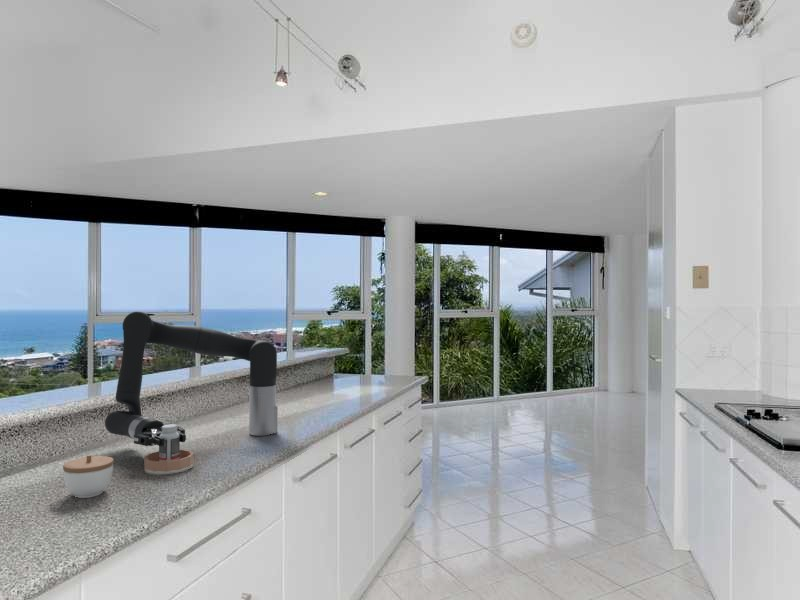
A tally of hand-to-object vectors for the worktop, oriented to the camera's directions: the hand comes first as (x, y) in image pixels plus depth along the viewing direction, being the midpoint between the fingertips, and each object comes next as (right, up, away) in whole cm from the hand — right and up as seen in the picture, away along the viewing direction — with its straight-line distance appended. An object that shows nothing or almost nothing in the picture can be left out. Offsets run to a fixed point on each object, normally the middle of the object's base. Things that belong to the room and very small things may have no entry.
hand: (173, 440), depth 151 cm
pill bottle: (-2, -6, +2) cm, 7 cm away
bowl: (-2, -8, +2) cm, 8 cm away
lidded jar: (-13, -8, -20) cm, 25 cm away
